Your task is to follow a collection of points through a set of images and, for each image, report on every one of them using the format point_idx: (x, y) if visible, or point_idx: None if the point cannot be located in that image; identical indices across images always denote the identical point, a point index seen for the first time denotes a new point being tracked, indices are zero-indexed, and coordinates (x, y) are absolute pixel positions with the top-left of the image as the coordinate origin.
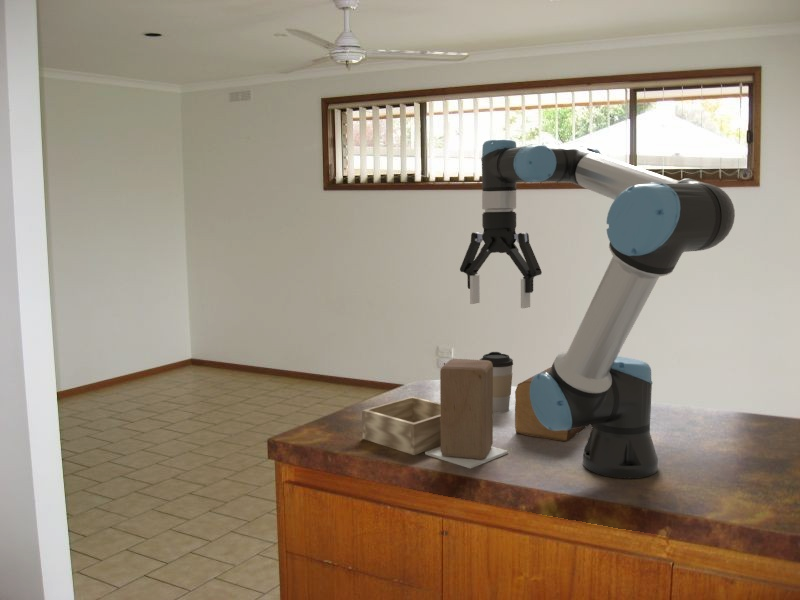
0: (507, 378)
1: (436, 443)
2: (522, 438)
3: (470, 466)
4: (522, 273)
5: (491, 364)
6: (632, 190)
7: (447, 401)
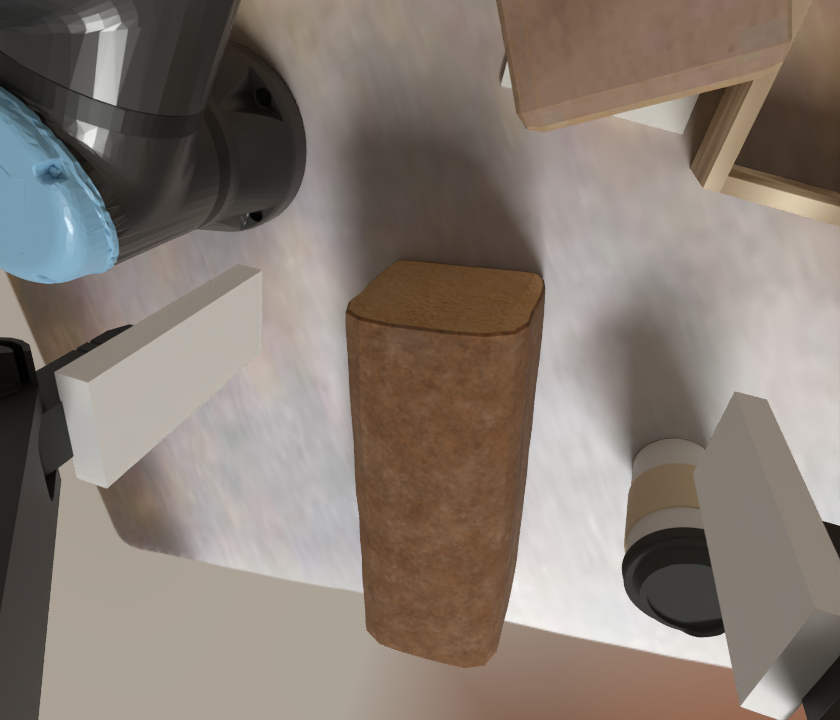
0: (632, 517)
1: None
2: (510, 242)
3: None
4: (24, 418)
5: (514, 89)
6: None
7: None
